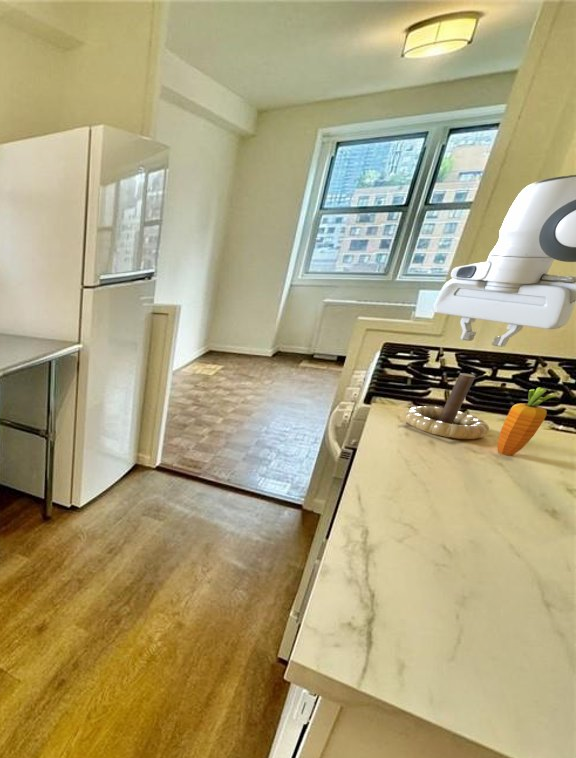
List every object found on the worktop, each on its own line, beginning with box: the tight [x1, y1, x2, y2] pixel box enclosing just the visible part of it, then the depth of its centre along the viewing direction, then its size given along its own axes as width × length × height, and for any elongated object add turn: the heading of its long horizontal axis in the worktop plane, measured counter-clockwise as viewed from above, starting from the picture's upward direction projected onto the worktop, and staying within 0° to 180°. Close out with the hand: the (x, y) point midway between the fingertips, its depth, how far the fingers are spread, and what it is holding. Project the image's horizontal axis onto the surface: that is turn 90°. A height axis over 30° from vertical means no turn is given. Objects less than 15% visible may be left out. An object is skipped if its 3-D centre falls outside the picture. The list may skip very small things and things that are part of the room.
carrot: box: [497, 387, 558, 457], centre depth 92 cm, size 5×5×15 cm
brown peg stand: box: [405, 372, 476, 440], centre depth 103 cm, size 9×9×14 cm
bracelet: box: [403, 405, 490, 440], centre depth 105 cm, size 14×14×3 cm
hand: (481, 342), depth 100 cm, fingers open, 4 cm apart
